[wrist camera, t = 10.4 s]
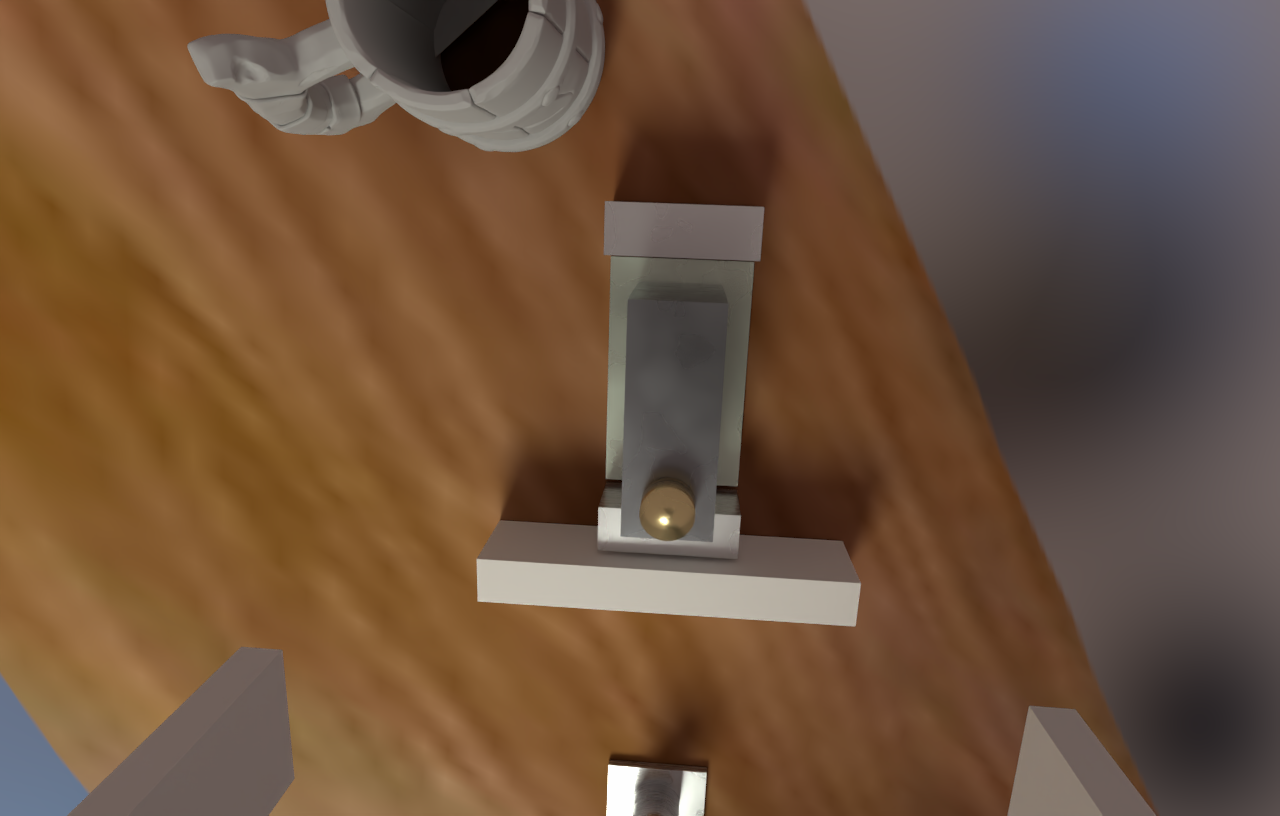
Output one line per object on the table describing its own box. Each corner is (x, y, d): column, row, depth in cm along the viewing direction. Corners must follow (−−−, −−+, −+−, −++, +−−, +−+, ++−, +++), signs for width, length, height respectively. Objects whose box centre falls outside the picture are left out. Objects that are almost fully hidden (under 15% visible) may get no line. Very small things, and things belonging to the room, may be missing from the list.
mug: (638, 111, 31) (605, 59, 19) (380, 217, 33) (209, 229, 21) (567, -89, 29) (483, -278, 17) (299, 36, 31) (63, -61, 19)
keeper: (734, 529, 35) (737, 559, 32) (605, 521, 36) (597, 550, 33) (757, 206, 31) (764, 207, 28) (613, 200, 32) (604, 201, 29)
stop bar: (639, 280, 32) (624, 303, 25) (722, 284, 32) (730, 308, 25) (632, 480, 35) (617, 550, 28) (709, 484, 34) (713, 556, 27)
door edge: (838, 580, 36) (855, 626, 32) (500, 558, 36) (477, 601, 33) (842, 540, 35) (860, 583, 31) (499, 520, 36) (476, 559, 32)
